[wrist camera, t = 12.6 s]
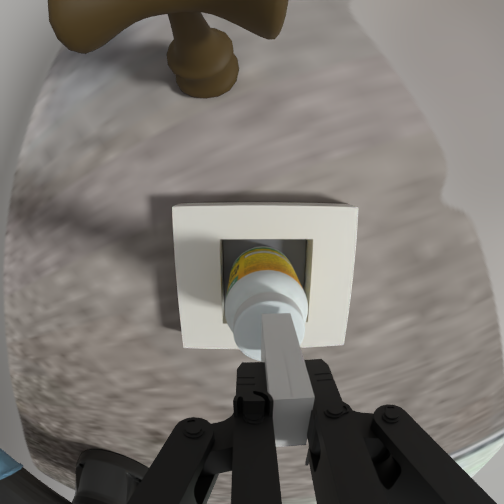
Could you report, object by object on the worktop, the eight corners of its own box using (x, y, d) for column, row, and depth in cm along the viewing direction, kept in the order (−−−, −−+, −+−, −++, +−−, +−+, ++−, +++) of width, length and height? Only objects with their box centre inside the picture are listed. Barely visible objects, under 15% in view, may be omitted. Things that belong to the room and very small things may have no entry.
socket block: (188, 333, 27) (183, 347, 25) (179, 203, 24) (172, 206, 22) (336, 331, 27) (343, 344, 25) (347, 204, 24) (358, 207, 22)
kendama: (266, 106, 22) (326, -78, 3) (149, 109, 22) (-37, 13, 3) (267, 43, 21) (304, -152, 1) (155, 47, 20) (29, -97, 1)
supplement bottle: (291, 304, 26) (312, 371, 17) (230, 304, 26) (222, 372, 17) (295, 244, 25) (322, 289, 15) (229, 244, 25) (218, 289, 15)
